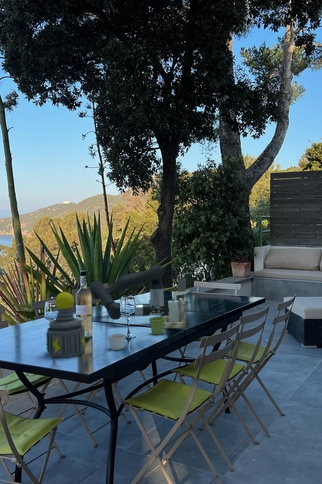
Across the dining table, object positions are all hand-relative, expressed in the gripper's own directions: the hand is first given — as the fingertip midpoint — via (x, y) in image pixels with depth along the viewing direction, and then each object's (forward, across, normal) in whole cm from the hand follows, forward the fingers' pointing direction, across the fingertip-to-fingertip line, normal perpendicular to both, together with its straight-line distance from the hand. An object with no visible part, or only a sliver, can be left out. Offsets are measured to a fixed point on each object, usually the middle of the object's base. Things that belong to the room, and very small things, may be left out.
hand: (168, 308), depth 302 cm
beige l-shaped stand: (+3, 0, +10) cm, 10 cm away
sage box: (+3, 0, +10) cm, 10 cm away
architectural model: (+13, +72, +10) cm, 74 cm away
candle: (-29, -54, +10) cm, 62 cm away
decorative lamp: (-53, -60, +10) cm, 81 cm away
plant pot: (-8, -25, +10) cm, 28 cm away
